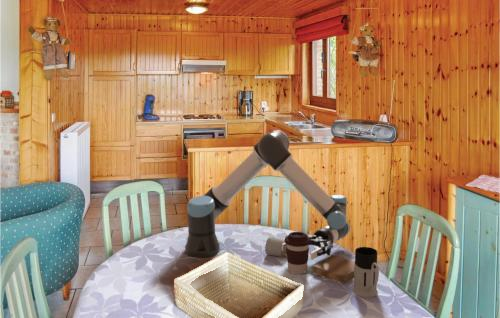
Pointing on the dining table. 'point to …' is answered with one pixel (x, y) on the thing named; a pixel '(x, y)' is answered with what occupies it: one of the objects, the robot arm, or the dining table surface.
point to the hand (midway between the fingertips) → (296, 251)
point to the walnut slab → (335, 269)
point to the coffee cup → (297, 252)
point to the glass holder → (365, 272)
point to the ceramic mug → (275, 247)
